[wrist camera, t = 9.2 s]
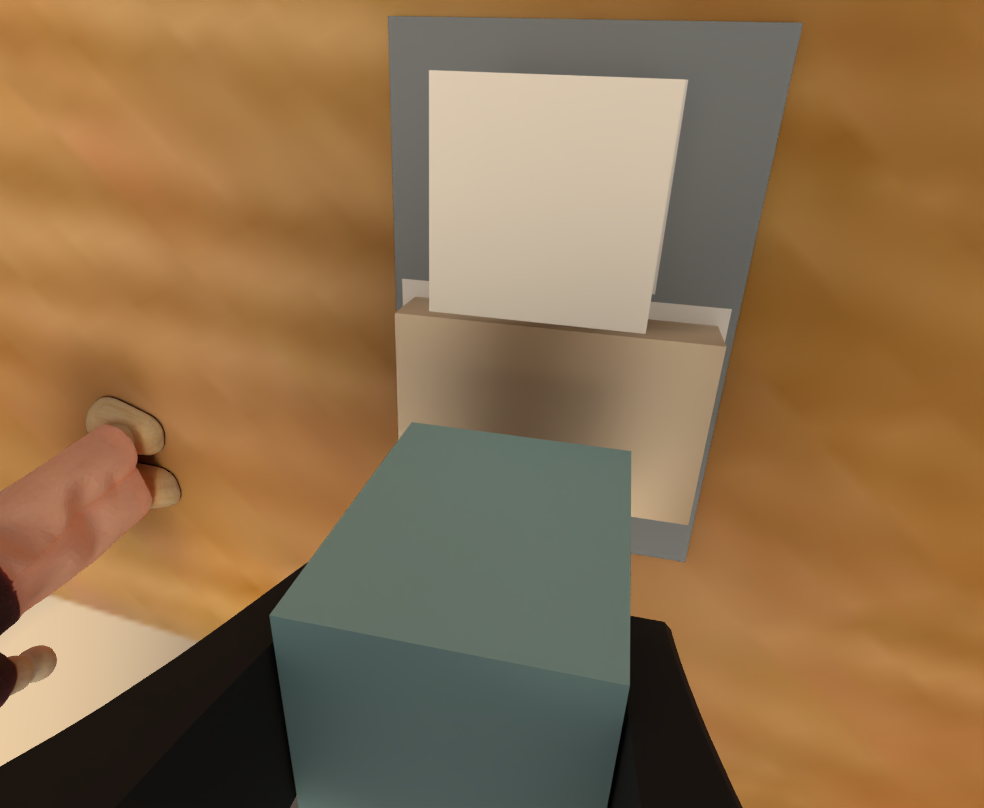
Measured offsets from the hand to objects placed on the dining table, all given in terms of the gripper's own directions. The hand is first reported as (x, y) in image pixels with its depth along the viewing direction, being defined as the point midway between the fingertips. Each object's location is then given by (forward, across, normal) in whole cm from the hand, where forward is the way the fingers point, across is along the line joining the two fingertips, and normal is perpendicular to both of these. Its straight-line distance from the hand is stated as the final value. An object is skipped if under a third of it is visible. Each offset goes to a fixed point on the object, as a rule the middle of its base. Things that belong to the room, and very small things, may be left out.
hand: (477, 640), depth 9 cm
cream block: (+9, 0, -6) cm, 11 cm away
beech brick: (+9, 0, 0) cm, 9 cm away
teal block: (+3, 0, 0) cm, 3 cm away
